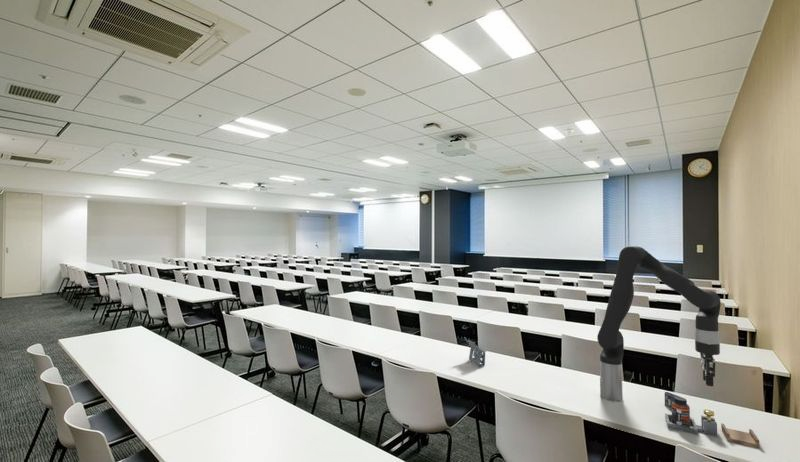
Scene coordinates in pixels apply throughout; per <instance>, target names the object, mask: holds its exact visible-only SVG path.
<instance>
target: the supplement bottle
mask: <svg viewBox="0 0 800 462" xmlns="http://www.w3.org/2000/svg"><path fill="white" fill-rule="evenodd" d="M674 400H675V401H673V402H672V408H671V415H672V420H671V423H673V424H678V425H683V426H687V427H691V424H690V419H691V415H690V413H691V411H690V410H691V409H690V405H689V404H688V402H687V401H688V400H687V399H686V398H685V397H682V396H680V397H674Z"/></svg>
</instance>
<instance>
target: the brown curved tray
mask: <svg viewBox="0 0 800 462" xmlns="http://www.w3.org/2000/svg"><path fill="white" fill-rule="evenodd" d="M720 426H721V429H720V430H721V432H722V434H723V435H724V436H723V437H724V438H725V439H726V441H727V442H730V441H731V443H735V444H741V445H744V446H748V447H753V448H758V449H760V447H761V446H760V439H759V438H758V436H757V435H756V434H755V432H754V430H753V429H751V428H749V429H748V432H747V431H743V430H742V431H741V430H737V429H732V428H727V426H726V425H725V423H721V425H720Z"/></svg>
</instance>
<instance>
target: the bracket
mask: <svg viewBox="0 0 800 462" xmlns="http://www.w3.org/2000/svg"><path fill="white" fill-rule="evenodd" d="M463 338H464V340H465V341H466V342H467V343H468V344H469V347H470V349H469V356H468V360H469V361H471V363H472V362H473V363H472V364H474V365H475V364H476V366H478V367H485V366H486V365H485V364H486V352H487V350H486V349H485V348H482V347H481V346H478V345H477V344H476V343H475V342H474V341H471V340H470V339H467V337H465V336H464V337H463Z"/></svg>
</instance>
